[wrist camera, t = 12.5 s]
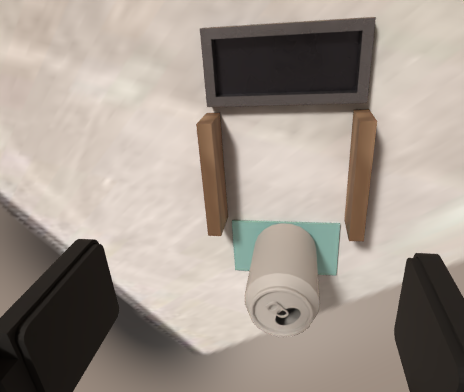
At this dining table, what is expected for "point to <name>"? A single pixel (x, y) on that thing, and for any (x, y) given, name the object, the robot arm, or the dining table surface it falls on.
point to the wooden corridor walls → (357, 172)
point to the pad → (320, 232)
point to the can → (283, 281)
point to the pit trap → (288, 63)
